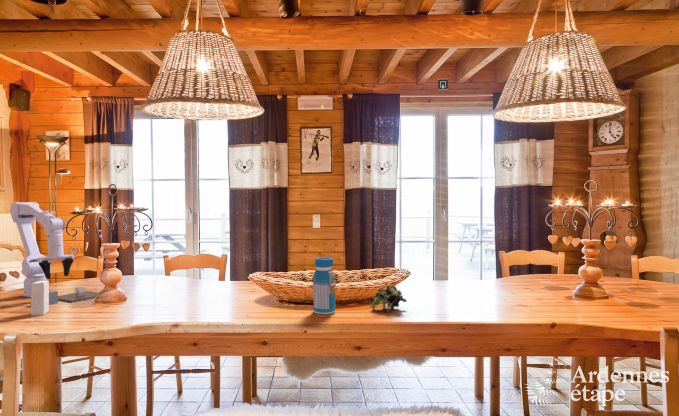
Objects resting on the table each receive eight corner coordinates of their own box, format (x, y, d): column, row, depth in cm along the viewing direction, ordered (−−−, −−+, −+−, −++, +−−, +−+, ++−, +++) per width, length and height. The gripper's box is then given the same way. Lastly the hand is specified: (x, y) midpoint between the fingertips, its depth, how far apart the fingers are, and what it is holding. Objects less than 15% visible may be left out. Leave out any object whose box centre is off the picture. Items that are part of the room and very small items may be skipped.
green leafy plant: (391, 322, 173) (409, 296, 174) (389, 324, 163) (409, 297, 163) (367, 304, 176) (385, 279, 176) (364, 305, 165) (383, 278, 166)
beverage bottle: (315, 315, 163) (315, 260, 163) (311, 310, 171) (310, 257, 171) (338, 313, 165) (337, 259, 165) (332, 308, 173) (332, 256, 173)
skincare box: (36, 312, 173) (35, 280, 173) (49, 311, 174) (49, 280, 174) (30, 316, 167) (30, 283, 167) (44, 315, 168) (44, 282, 168)
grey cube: (37, 304, 187) (37, 292, 187) (51, 301, 191) (50, 290, 191) (44, 305, 184) (44, 293, 184) (57, 303, 189) (57, 291, 189)
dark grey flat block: (51, 298, 198) (50, 289, 198) (87, 292, 212) (86, 283, 211) (72, 302, 190) (72, 292, 190) (108, 295, 204) (107, 286, 204)
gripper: (42, 247, 189) (44, 279, 188) (77, 244, 201) (79, 274, 201) (33, 247, 192) (35, 279, 192) (68, 244, 205) (70, 274, 205)
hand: (57, 277), depth 197 cm, fingers open, 7 cm apart
